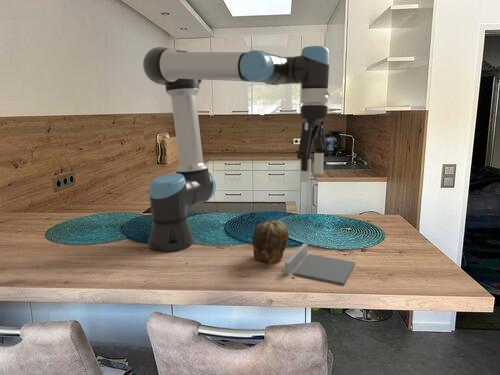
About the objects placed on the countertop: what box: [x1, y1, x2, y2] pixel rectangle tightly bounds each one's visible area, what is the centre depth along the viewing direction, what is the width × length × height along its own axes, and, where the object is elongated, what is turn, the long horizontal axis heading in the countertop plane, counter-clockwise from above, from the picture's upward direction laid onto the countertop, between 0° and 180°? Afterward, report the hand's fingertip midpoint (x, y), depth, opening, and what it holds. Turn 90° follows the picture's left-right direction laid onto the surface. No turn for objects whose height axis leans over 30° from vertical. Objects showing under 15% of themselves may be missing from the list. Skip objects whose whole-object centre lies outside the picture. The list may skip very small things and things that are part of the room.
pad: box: [292, 253, 356, 286], centre depth 102 cm, size 14×14×1 cm
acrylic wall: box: [284, 242, 309, 276], centre depth 105 cm, size 1×16×4 cm, turn 153°
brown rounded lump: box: [251, 219, 290, 265], centre depth 108 cm, size 11×11×12 cm
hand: (312, 177), depth 107 cm, fingers open, 13 cm apart
